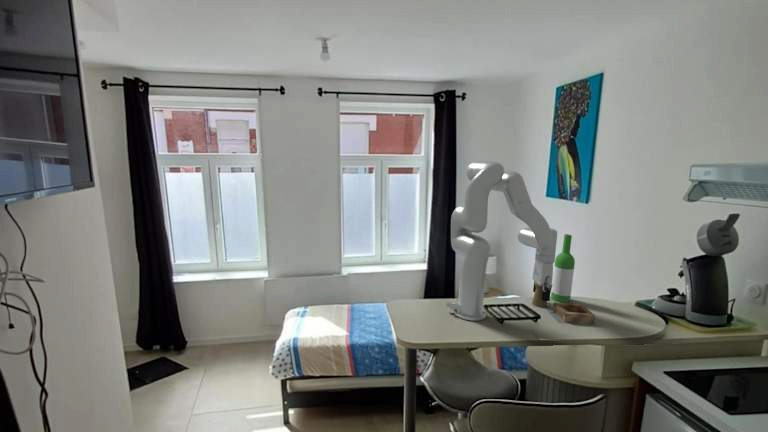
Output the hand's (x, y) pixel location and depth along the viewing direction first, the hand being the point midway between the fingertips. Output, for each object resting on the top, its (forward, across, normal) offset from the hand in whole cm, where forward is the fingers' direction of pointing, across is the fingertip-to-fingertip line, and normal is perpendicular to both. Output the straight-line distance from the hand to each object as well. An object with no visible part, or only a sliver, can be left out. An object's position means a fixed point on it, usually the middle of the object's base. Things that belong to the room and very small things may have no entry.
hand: (541, 296), depth 154 cm
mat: (+4, +11, +8) cm, 14 cm away
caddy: (+4, +11, +9) cm, 15 cm away
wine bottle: (+5, -8, +12) cm, 15 cm away
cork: (+4, 0, 0) cm, 4 cm away
